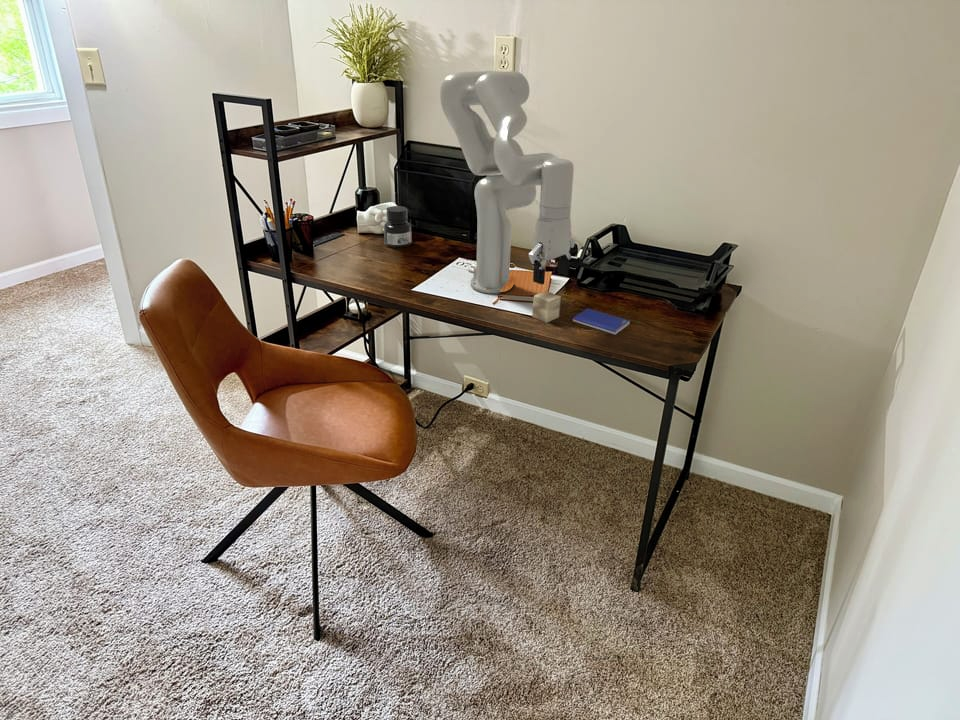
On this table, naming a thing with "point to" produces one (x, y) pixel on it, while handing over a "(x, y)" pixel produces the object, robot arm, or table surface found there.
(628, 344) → the table surface
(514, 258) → the table surface
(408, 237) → the ink bottle
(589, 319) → the hard drive
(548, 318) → the beech block
